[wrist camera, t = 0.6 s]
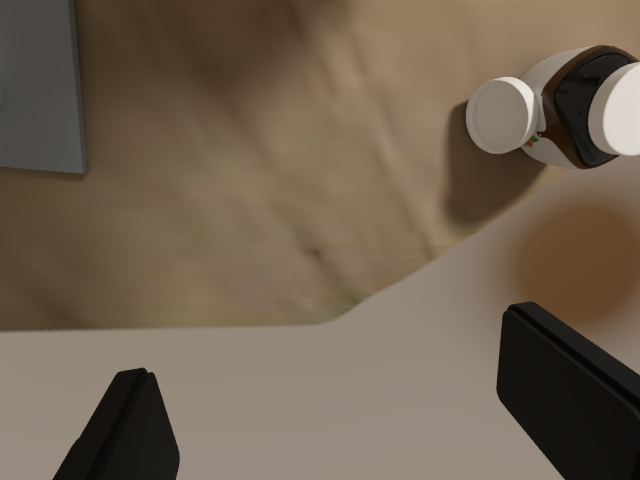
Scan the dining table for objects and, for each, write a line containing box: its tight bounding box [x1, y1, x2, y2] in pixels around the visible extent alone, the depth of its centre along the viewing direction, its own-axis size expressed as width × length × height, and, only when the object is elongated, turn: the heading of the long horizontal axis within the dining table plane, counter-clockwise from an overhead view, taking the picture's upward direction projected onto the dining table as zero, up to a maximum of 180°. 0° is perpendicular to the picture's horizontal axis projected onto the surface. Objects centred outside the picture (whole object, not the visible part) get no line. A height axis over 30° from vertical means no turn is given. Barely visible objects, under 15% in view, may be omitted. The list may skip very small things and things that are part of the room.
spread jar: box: [466, 45, 640, 169], centre depth 32 cm, size 12×11×12 cm
